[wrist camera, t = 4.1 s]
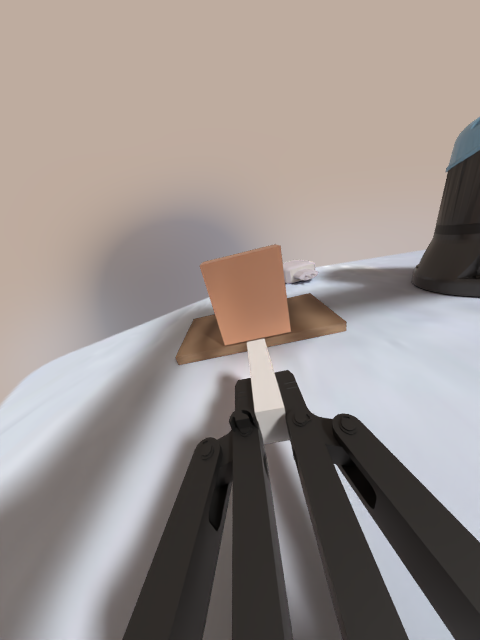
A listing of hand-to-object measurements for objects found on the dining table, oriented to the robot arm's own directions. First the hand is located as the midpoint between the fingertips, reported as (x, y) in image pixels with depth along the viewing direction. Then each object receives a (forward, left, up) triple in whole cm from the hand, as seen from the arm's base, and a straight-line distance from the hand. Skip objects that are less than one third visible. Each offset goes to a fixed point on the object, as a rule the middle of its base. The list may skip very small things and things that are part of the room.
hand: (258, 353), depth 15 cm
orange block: (0, -15, -5) cm, 16 cm away
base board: (0, -17, -7) cm, 19 cm away
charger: (-16, -41, -7) cm, 45 cm away
